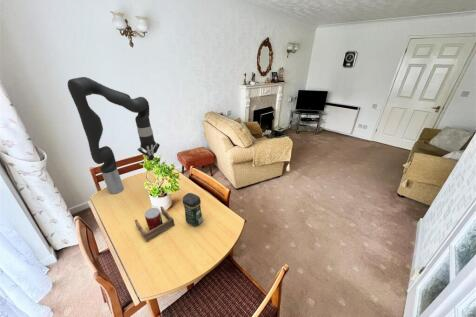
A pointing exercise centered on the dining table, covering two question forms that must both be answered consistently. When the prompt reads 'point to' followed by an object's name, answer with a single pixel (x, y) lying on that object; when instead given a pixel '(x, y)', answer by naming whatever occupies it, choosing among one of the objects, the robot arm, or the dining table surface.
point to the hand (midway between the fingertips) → (151, 160)
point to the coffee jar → (192, 209)
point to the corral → (158, 229)
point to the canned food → (153, 218)
